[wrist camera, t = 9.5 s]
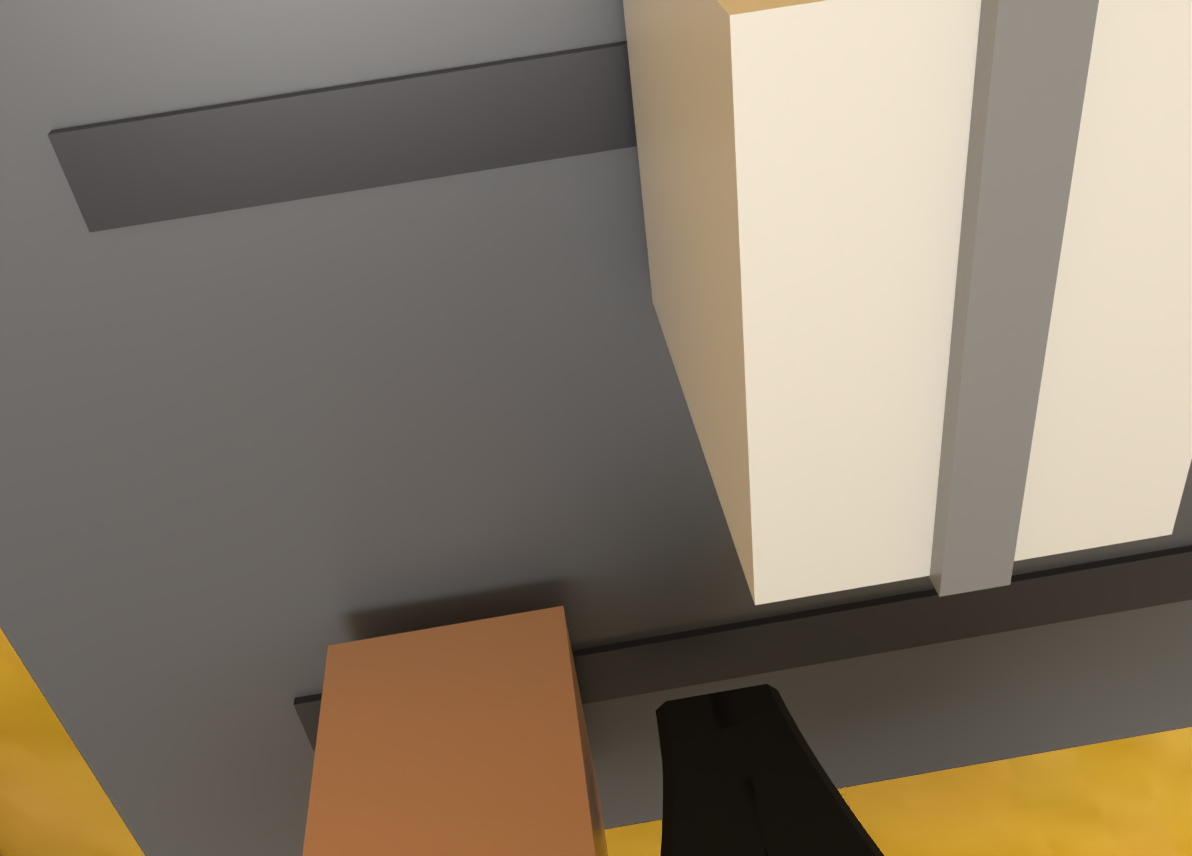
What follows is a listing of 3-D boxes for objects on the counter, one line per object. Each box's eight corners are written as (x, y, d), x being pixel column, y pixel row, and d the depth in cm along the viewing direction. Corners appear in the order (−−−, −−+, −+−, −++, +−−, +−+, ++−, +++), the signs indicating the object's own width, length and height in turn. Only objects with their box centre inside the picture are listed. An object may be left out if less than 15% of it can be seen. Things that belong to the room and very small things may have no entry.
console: (198, 804, 15) (174, 911, 14) (-339, -158, 8) (-494, -129, 7) (1234, 625, 15) (1308, 713, 14) (1589, -441, 8) (1801, -466, 7)
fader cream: (653, 303, 9) (761, 626, 6) (611, -125, 7) (738, 21, 4) (932, 258, 9) (1186, 555, 6) (965, -179, 7) (1362, -78, 4)
